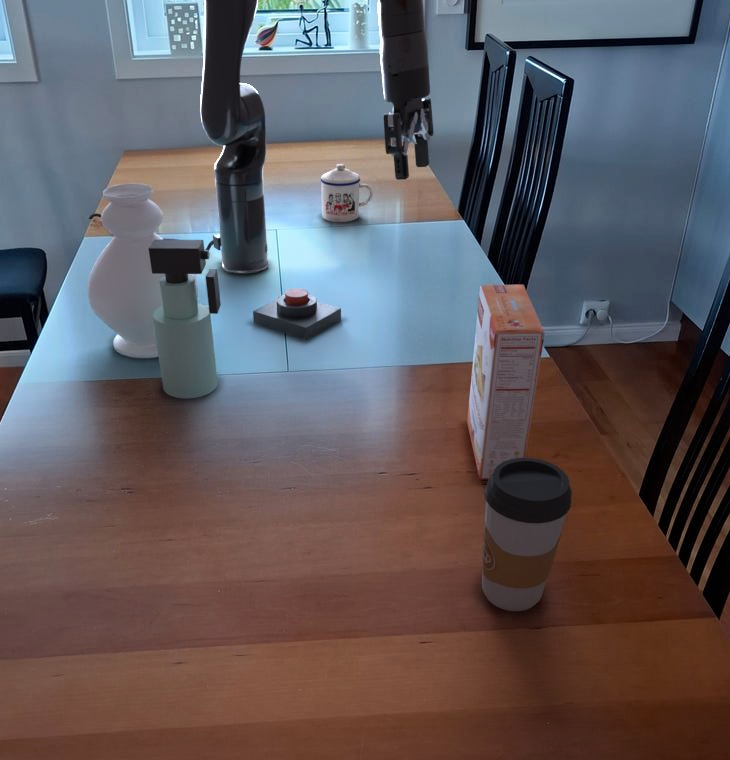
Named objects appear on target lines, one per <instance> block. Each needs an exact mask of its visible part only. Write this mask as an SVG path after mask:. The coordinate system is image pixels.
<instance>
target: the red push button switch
mask: <svg viewBox="0 0 730 760" xmlns="http://www.w3.org/2000/svg"><path fill="white" fill-rule="evenodd" d="M252 316H253V323H254V324H258V325H260V326H263V327H265V328H266V327H267V328H269V329H273V330H276V331H278V332H282V333H285V334H288V335H291V336H294V337H297V338H300V339H304V340H309V339H310V338H312V337H313V336H315V335H317V334H319V333H321V332H323V331H324V330H326V329H328V328H329V327H332V326H333V325H335V324H336V323H338V322H340V321H341V320H342V308H341V307H337V306H334V305H331V304H327V303H325V302H324V303H323V302H321V301H318V298H317V297H316V296H315V295H314V294H311V293H308V303H306V304H303V305H289V304H286V303H285V293H284V294H282V295H279V296H278V298H276V299H274V300H272V301H270V302H268V303H266V304H264V305H263V306H260V307H258V308H257V309H253V311H252Z"/></svg>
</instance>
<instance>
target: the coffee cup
mask: <svg viewBox="0 0 730 760" xmlns="http://www.w3.org/2000/svg"><path fill="white" fill-rule="evenodd" d="M572 495H573V490H572V487H571V484H570V479H569V477H568V475H567V473H566V472H565V471H564V470H563V469H562V468H560V467H559V466H558V465H556V464H554V463H551V462H549V461H546V460H543V459H540V458H533V457H525V458H515V459H510V460H507V461H504V462H502V463H501V464H499V465H498V466H497V467H496V468H495V469H494V472H493V473H492V475H491V476H490V477H489V479H487V483H486V486H485V489H484V497H485V514H484V515H485V517H484V522H483V536H482V537H483V539H482V559H481V571H482V575H481V587H482V592H483V593H484V596H485V598H486V599H487V601H489V602H490V604H492V605H493V606H495V607H496V608H499V609H501V610H503V611H507V612H508V611H509V612H522V611H527V610H529V609H532V608H533V607H534V606H535V605H536V604H537V603H539V602H540V600H541V599H542V596H543V593H544V590H545V586H546V584H547V581H548V579H549V577H550V573H551V569H552V567H553V563H554V560H555V556H556V553H557V550H558V547H559V543H560V540H561V536H562V530H563V527H564V524H565V519H566V516H567V514H568V513H569V510H570V509H571V506H572Z"/></svg>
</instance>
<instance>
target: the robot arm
mask: <svg viewBox="0 0 730 760" xmlns="http://www.w3.org/2000/svg"><path fill="white" fill-rule="evenodd" d="M258 1H259V0H203V65H202V66H203V67H202V81H201V92H200V93H201V94H200V119H201V124H202V128H203V130H204V132H205V134H206V136H207V137H208V139H209V140H210V141H212V143H214V144H215V145H217V146H219V147H223V149H222V152H221V153H220V156H219V158H217V160H216V162H215V163H214V165H213V166H214V167H213V173H214V184H215V195H216V204H217V205H216V206H217V216H218V217H217V220H218V230H219V233H218V234H213V235H212V240H210V242H209V243H208V244H207V246H206V248H204V250H208V251H209V252H210V249H211V248H212V247H213V248H215V250H217V251H220V253H221V265H222V266H221V267H222V269H223V270H224V271H225V272H227V273H230V274H235V275H250V274H257V273H259V272H260V273H261V272H263V271H264V270H266V269H267V268H268V267H269V260H268V252H269V249H268V248H269V247H268V241H267V239H268V238H267V224H266V223H267V222H266V208H265V207H266V205H265V191H264V166H265V163H266V160H267V159H266V158H267V124H266V121H267V120H266V110H265V107H264V102H263V100H262V98H261V95H260V94H259V93H258V91H257V90H256V88H254V87H253V86H252V85H250V84H247V83H242V82H241V70H242V69H241V67H242V60H243V59H242V58H243V55H244V50H245V47H246V44H247V41H248V39H249V35H250V32H251V30H252V26H253V23H254V20H255V16H256V13H257V9H258ZM377 14H378V15H377V16H378V26H379V37H380V38H379V39H380V43H379V47H380V48H379V55H380V56H379V57H380V67H381V68H380V69H381V80H382V91H383V99H384V101H385V102H386V103H391V104H392V112H389V113H384V114H383V129H384V130H383V131H384V148H385V154H386V155H391V156H392V157H393V166H394V178H395V179H396V180H398V181H400V180H401V181H402V180H407V179H409V177H410V169H409V159H408V158H409V157H408V155H409V154H408V151H409V150H408V149H409V144H410V143H411V142H412V141H413V143H415V144H414V157H415V166H416V167H417V168H426V167H428V166H429V165H430V156H429V155H430V154H429V143H430V139H431V138H430V137H433V136H434V122H433V120H434V119H433V109H432V98H430V97H428V96H429V95H430V94H431V82H430V81H431V80H430V67H429V48H428V41H427V37H426V30H425V29H426V27H425V26H426V25H425V10H424V0H378V2H377ZM427 97H428V98H427ZM101 214H102V213H99V212H94V213H91V214H90V215H89V217H88V220H92V219H94V218H95V217H98V218H100V219H101ZM163 239H164V240H180V239H179V238H165V237H164V238H163Z"/></svg>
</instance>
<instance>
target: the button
mask: <svg viewBox="0 0 730 760" xmlns="http://www.w3.org/2000/svg"><path fill="white" fill-rule="evenodd" d="M284 294H285V303H286V304H289V305H303V304H306V303H308V294H309V291H308V290H307V289H306V288H301V287H295V288H294V287H293V288H290V289H287V290H286V291H285V292H284Z"/></svg>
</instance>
